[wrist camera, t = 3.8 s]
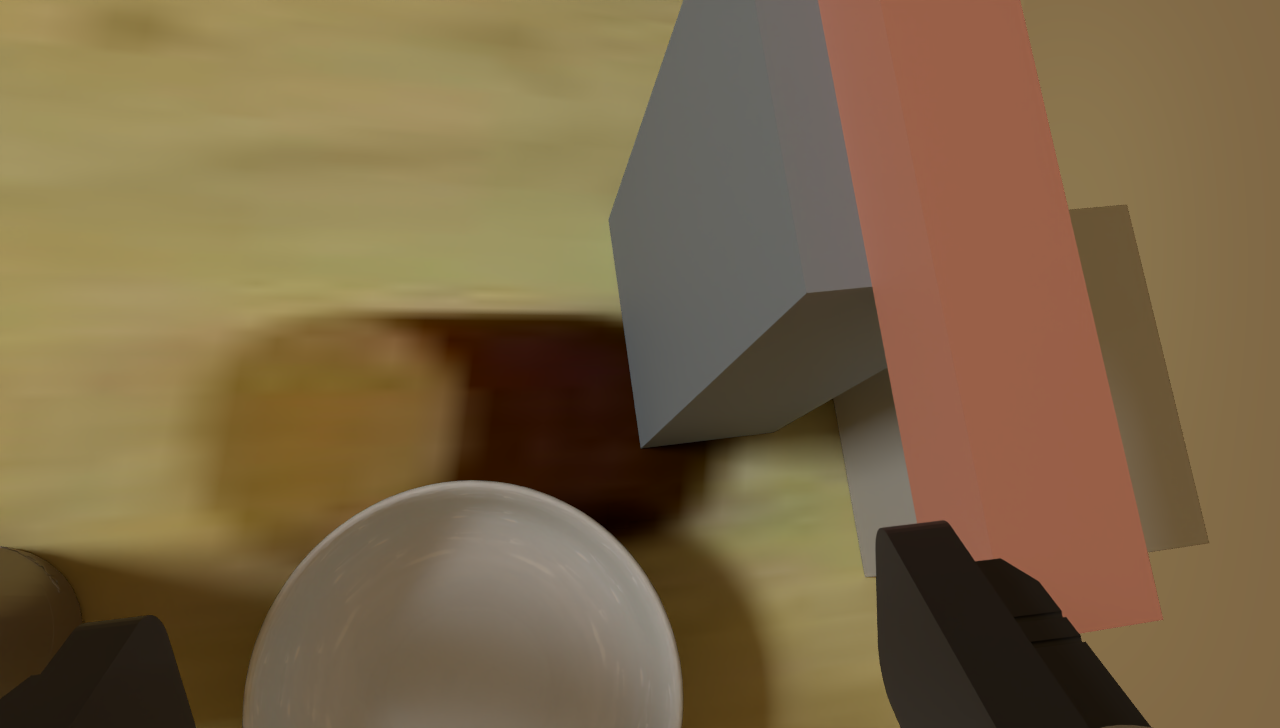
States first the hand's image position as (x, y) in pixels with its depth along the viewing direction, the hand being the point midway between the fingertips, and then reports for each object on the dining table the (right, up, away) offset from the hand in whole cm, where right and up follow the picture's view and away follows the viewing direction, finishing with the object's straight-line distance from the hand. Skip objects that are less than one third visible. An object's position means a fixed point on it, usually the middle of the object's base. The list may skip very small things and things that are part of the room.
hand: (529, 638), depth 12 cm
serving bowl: (-8, -14, +45) cm, 48 cm away
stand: (+10, +2, +51) cm, 52 cm away
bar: (+10, +8, +20) cm, 23 cm away
